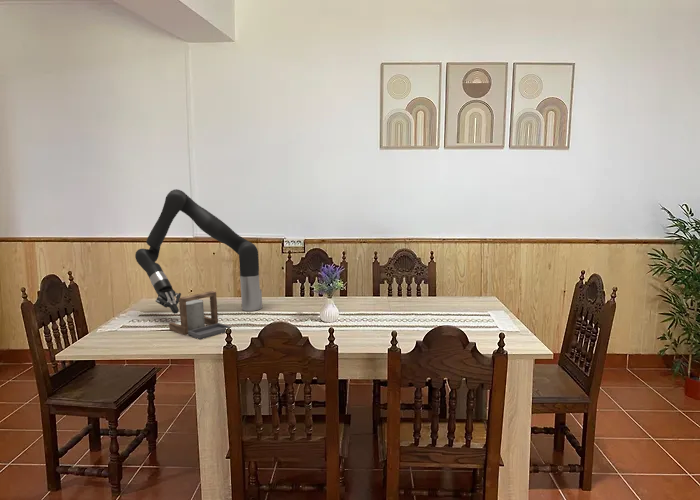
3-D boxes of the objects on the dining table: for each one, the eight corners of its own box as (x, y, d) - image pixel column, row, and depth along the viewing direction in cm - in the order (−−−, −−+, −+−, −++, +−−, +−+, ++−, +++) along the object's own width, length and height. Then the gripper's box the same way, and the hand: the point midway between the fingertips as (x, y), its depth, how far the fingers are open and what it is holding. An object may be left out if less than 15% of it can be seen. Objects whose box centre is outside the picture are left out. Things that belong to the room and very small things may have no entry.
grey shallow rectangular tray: (219, 327, 282) (219, 322, 281) (231, 330, 275) (230, 326, 275) (188, 335, 270) (187, 331, 270) (199, 339, 264) (199, 335, 264)
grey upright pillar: (183, 332, 275) (180, 305, 273) (183, 326, 284) (181, 300, 282) (205, 330, 277) (203, 303, 275) (204, 324, 286) (203, 298, 284)
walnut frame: (202, 321, 292) (199, 288, 289) (218, 326, 283) (216, 291, 280) (169, 329, 280) (166, 294, 277) (185, 335, 271) (182, 299, 268)
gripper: (150, 280, 289) (166, 310, 283) (175, 276, 299) (191, 305, 292) (145, 290, 294) (161, 320, 287) (170, 285, 303) (186, 314, 297)
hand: (176, 312), depth 290 cm, fingers closed
